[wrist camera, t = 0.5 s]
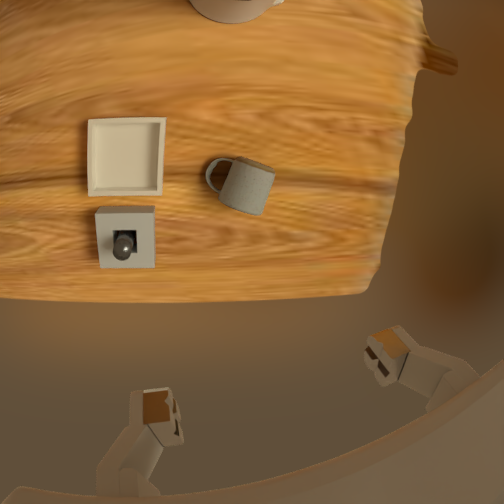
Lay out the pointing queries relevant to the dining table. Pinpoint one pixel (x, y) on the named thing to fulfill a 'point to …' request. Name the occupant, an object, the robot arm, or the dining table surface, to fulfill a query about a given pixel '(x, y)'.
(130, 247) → the pin
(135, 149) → the tray
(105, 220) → the grey square socket block
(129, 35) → the dining table surface
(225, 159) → the ceramic mug
